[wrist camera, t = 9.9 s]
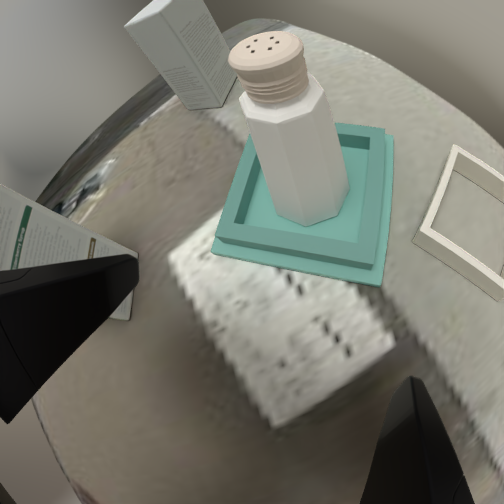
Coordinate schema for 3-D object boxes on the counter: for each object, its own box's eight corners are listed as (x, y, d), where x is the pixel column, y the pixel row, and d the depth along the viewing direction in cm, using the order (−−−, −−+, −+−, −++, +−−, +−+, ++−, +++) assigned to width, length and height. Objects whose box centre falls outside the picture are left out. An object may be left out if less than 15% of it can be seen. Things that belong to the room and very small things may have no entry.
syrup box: (140, 251, 21) (-15, 164, 8) (131, 324, 20) (-49, 279, 7) (96, 253, 23) (-35, 188, 10) (87, 316, 21) (-58, 275, 8)
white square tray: (497, 301, 12) (512, 296, 10) (411, 242, 15) (419, 230, 13) (521, 211, 13) (533, 199, 11) (446, 159, 16) (453, 143, 14)
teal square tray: (379, 287, 15) (384, 280, 13) (214, 254, 19) (200, 245, 17) (392, 140, 18) (395, 122, 16) (256, 128, 22) (248, 112, 20)
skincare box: (207, 75, 27) (157, -4, 16) (241, 71, 25) (195, -18, 14) (185, 112, 25) (121, 27, 14) (222, 109, 24) (160, 9, 13)
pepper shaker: (264, 226, 18) (174, 103, 8) (272, 157, 19) (211, 29, 9) (350, 228, 16) (346, 80, 6) (348, 156, 18) (332, 11, 8)
